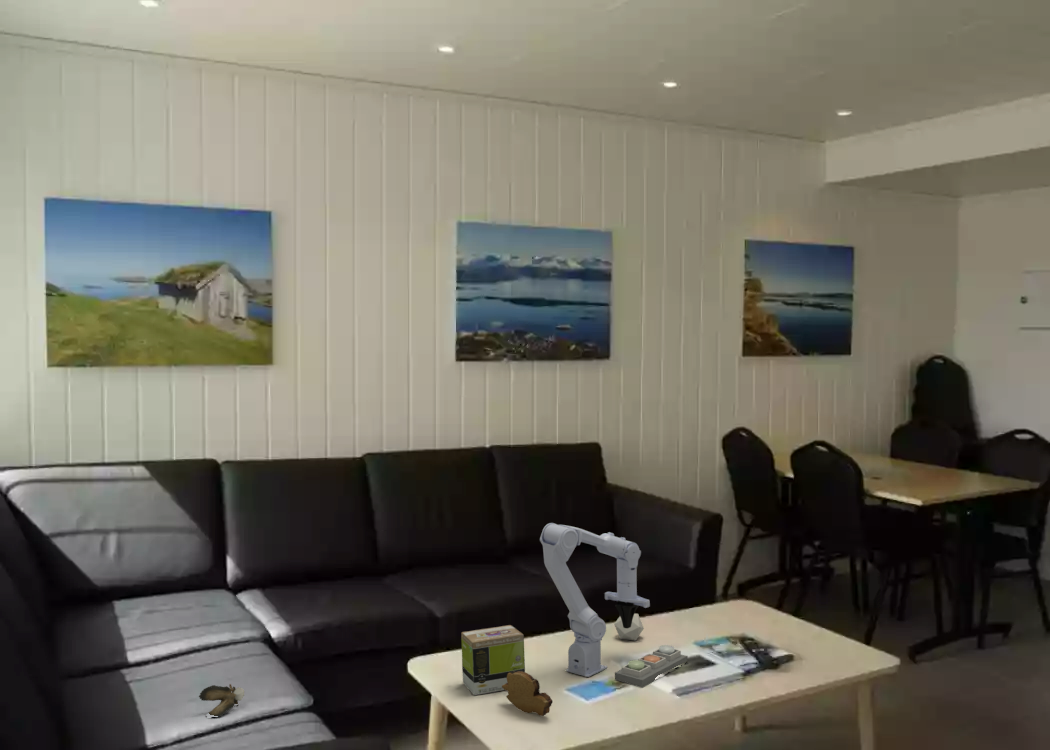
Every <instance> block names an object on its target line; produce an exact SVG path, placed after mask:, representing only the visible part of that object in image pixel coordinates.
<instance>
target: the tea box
mask: <svg viewBox="0 0 1050 750" xmlns="http://www.w3.org/2000/svg"><path fill="white" fill-rule="evenodd" d="M460 638H461V639H460V640H461V667H462V669H461V671H462V672H461V673H462V683H463V684H464V686H465V687H466V688H467V689H468V690H469V692H471V694H472V695H473V696H480V695H485V694H488V693H489V694H490V693H495V692H500V691H505V690H504V689H503V688H502V685H504V684H506V683H508V682H507V674H508V673H511V672H513V671H515V672H518V671H522V672H526V663H525V662H526V661H525V660H526V659H525V636H524V634H523V633H522V632H521V631H519V630H518V629H517V628H516V627H514V626H513V625H511V624H508V625H502V626H496V627H495V626H494V627H488V628H481V629H475V630H469V631H462V632H461V637H460Z"/></svg>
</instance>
